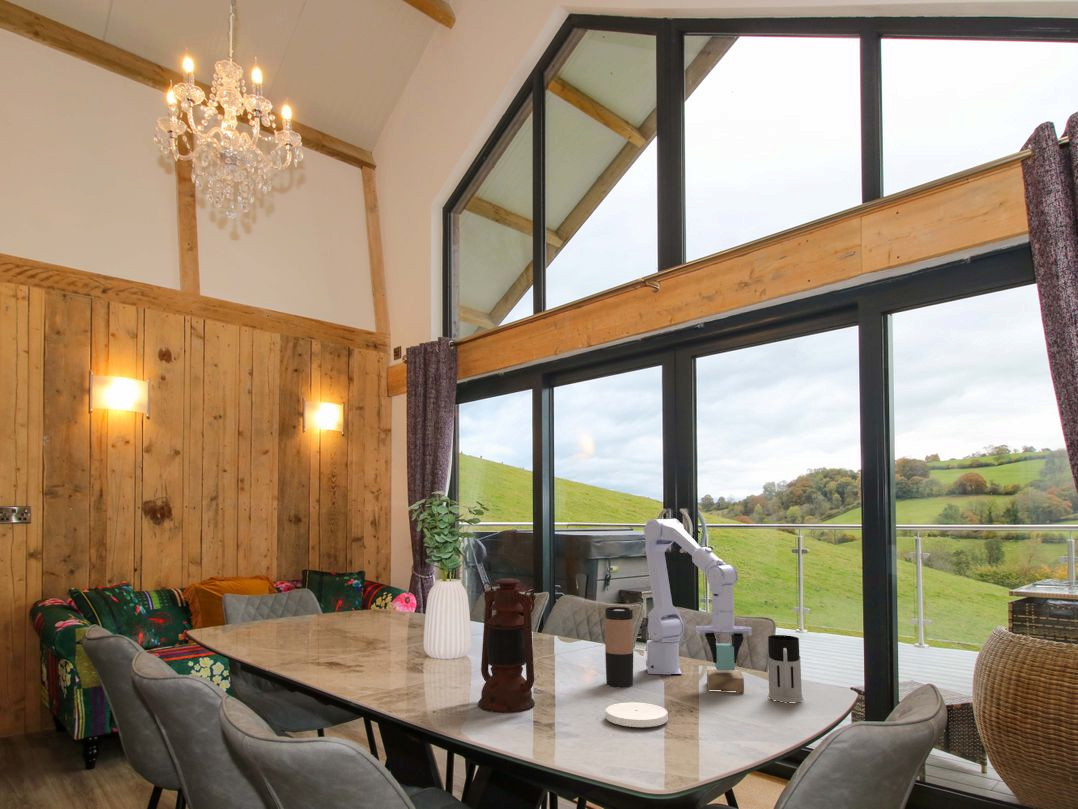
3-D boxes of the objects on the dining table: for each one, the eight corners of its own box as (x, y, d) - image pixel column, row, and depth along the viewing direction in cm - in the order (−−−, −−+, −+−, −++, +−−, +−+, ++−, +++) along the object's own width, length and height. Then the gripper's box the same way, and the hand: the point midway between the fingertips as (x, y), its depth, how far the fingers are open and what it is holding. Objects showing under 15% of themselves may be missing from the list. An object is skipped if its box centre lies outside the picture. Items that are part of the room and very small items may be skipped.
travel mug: (601, 685, 200) (600, 609, 202) (611, 679, 206) (611, 606, 209) (627, 689, 196) (627, 611, 199) (637, 683, 203) (637, 608, 205)
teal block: (717, 669, 197) (716, 646, 197) (714, 666, 201) (714, 643, 202) (734, 670, 196) (733, 646, 197) (731, 666, 201) (731, 643, 202)
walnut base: (708, 692, 194) (708, 676, 195) (707, 684, 203) (706, 669, 204) (744, 694, 193) (743, 678, 193) (741, 686, 201) (740, 670, 202)
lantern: (461, 704, 181) (463, 579, 185) (500, 693, 192) (501, 574, 195) (514, 718, 170) (515, 584, 174) (552, 705, 180) (552, 579, 184)
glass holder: (802, 695, 191) (800, 635, 192) (806, 710, 177) (804, 645, 179) (767, 693, 193) (765, 633, 195) (768, 707, 179) (766, 643, 181)
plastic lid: (627, 710, 178) (627, 699, 178) (679, 721, 169) (678, 709, 170) (593, 723, 167) (593, 711, 168) (647, 736, 159) (647, 723, 159)
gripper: (697, 612, 197) (699, 665, 195) (753, 613, 196) (755, 666, 194) (694, 608, 204) (695, 659, 202) (748, 609, 203) (749, 660, 201)
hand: (724, 662), depth 199 cm, fingers closed on teal block, 4 cm apart
